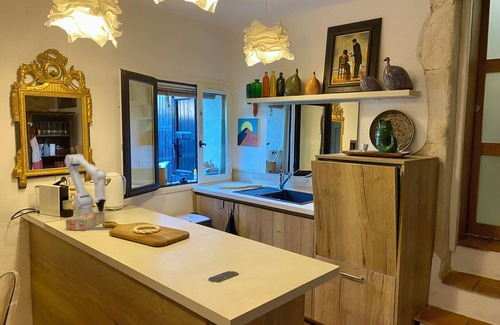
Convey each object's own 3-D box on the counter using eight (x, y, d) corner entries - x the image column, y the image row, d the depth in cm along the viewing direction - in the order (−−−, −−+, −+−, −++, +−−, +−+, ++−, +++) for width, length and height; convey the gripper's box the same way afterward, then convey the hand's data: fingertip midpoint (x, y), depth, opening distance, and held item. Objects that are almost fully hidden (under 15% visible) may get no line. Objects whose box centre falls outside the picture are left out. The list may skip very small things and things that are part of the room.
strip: (80, 227, 222) (80, 227, 222) (114, 226, 223) (114, 226, 223) (76, 230, 216) (76, 230, 216) (111, 229, 218) (111, 228, 217)
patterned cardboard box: (105, 221, 236) (88, 220, 238) (105, 212, 235) (88, 211, 238) (83, 230, 215) (65, 229, 217) (83, 219, 214) (65, 219, 217)
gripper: (102, 192, 221) (103, 214, 223) (109, 187, 236) (110, 208, 237) (90, 192, 221) (92, 214, 222) (98, 188, 235) (99, 208, 237)
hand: (100, 211), depth 230 cm, fingers closed
